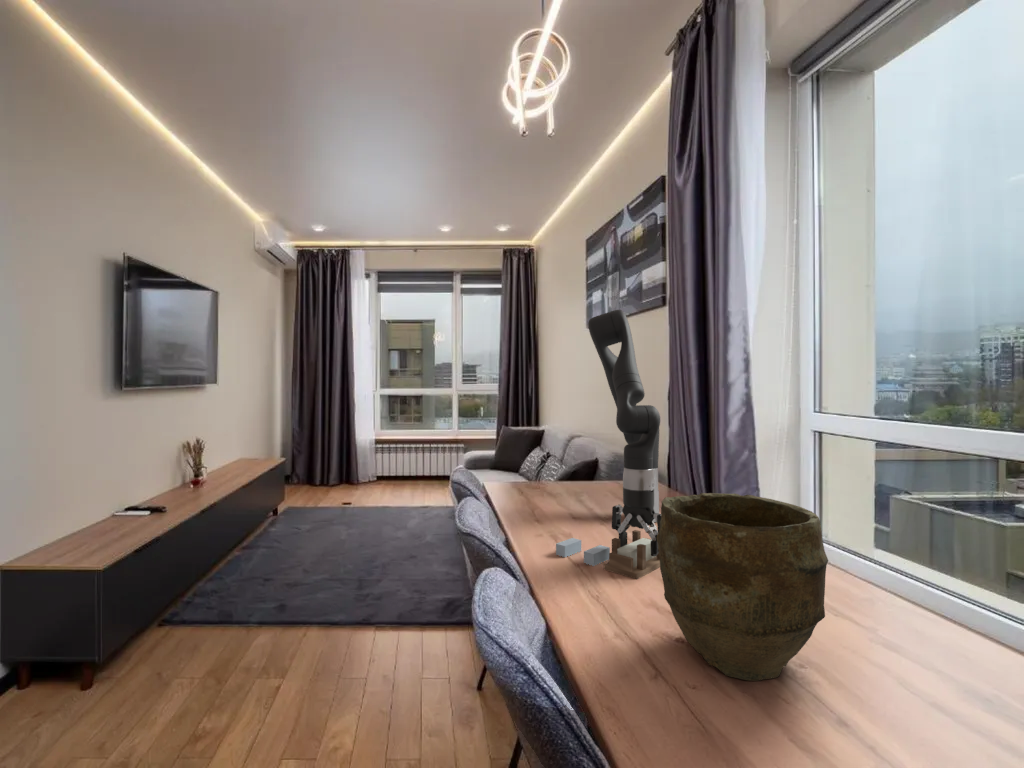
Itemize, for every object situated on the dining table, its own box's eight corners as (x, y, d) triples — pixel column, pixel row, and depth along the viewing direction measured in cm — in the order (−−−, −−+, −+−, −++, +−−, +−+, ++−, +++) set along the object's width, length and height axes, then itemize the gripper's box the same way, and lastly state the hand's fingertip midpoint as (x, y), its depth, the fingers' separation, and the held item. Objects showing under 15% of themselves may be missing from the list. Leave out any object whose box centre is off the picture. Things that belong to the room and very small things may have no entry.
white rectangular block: (617, 565, 123) (617, 548, 123) (643, 553, 131) (643, 537, 131) (630, 568, 120) (630, 551, 120) (655, 556, 129) (655, 540, 129)
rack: (640, 552, 136) (640, 527, 136) (672, 560, 129) (672, 534, 129) (603, 569, 123) (603, 541, 123) (636, 579, 117) (636, 549, 117)
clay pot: (802, 630, 92) (802, 492, 92) (856, 719, 68) (854, 531, 68) (656, 614, 99) (656, 485, 99) (657, 689, 75) (656, 518, 75)
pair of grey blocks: (572, 548, 139) (572, 537, 139) (609, 559, 131) (609, 547, 131) (556, 555, 134) (555, 543, 134) (593, 566, 126) (593, 554, 126)
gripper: (605, 484, 129) (605, 548, 129) (657, 492, 119) (657, 562, 119) (621, 480, 134) (622, 542, 134) (672, 487, 124) (672, 554, 124)
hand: (638, 551), depth 126 cm, fingers open, 8 cm apart
